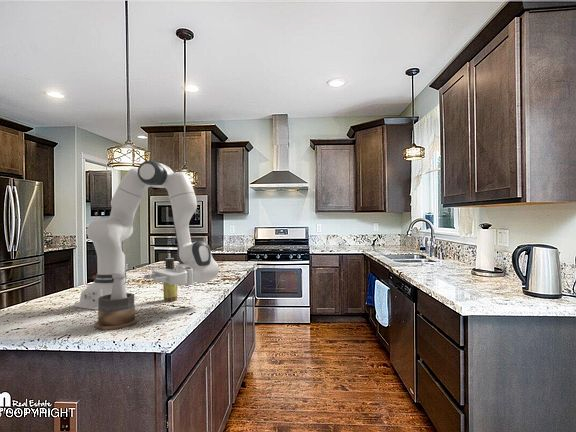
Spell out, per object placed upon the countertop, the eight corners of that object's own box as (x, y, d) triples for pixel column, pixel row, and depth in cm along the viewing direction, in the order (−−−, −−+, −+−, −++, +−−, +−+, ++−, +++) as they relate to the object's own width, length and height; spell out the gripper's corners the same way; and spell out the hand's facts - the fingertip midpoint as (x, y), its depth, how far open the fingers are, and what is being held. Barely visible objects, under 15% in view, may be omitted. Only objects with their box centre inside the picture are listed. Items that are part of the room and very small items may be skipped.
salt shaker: (114, 305, 124) (114, 270, 124) (129, 304, 124) (129, 270, 125) (106, 309, 118) (106, 273, 118) (123, 309, 119) (123, 272, 119)
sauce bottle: (179, 300, 156) (179, 258, 156) (167, 302, 152) (167, 259, 152) (173, 298, 161) (173, 257, 161) (160, 300, 156) (160, 258, 156)
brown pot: (85, 328, 115) (85, 300, 116) (113, 317, 129) (113, 291, 129) (120, 331, 113) (120, 301, 113) (145, 319, 126) (145, 293, 126)
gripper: (171, 264, 146) (139, 268, 137) (194, 269, 131) (159, 273, 122) (171, 278, 146) (139, 283, 137) (194, 285, 131) (159, 290, 122)
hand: (149, 278), depth 129 cm, fingers open, 8 cm apart
